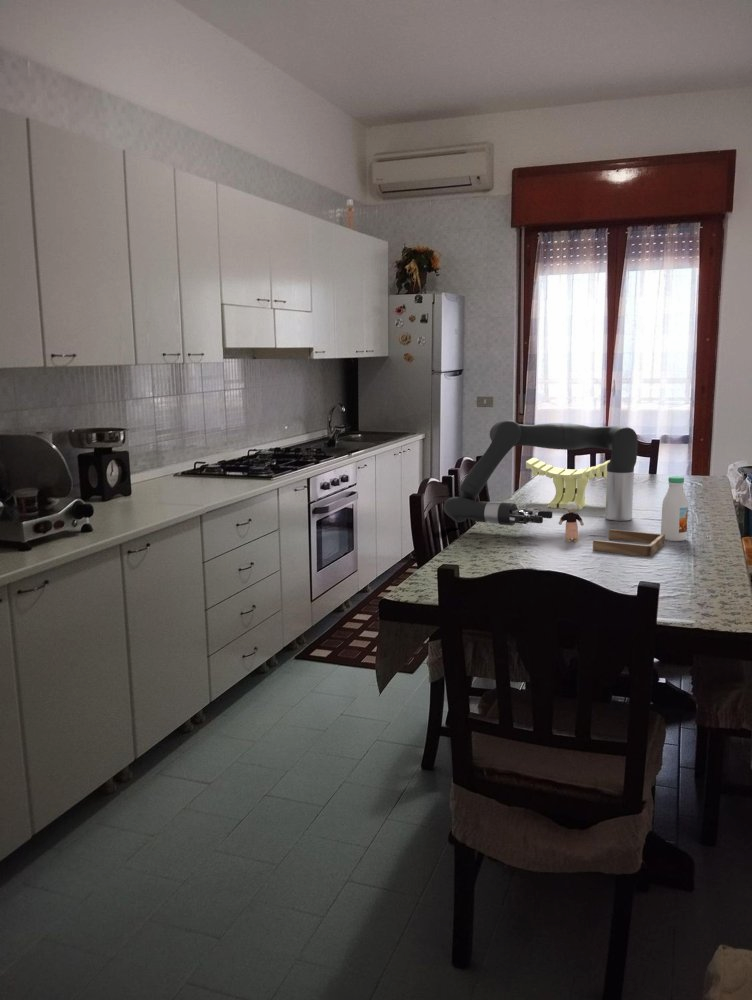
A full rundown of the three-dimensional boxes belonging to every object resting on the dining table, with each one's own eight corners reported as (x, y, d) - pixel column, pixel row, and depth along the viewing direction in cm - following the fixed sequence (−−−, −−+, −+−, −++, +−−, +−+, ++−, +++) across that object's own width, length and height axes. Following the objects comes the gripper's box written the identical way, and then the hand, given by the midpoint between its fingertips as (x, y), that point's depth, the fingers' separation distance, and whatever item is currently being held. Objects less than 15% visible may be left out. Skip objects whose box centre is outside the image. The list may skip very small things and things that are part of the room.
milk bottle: (670, 542, 249) (673, 479, 245) (655, 537, 256) (658, 476, 253) (691, 540, 251) (694, 478, 247) (676, 535, 258) (679, 474, 255)
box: (609, 538, 256) (610, 529, 256) (664, 543, 247) (664, 534, 247) (592, 550, 241) (593, 540, 241) (650, 556, 232) (650, 546, 232)
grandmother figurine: (580, 539, 256) (581, 500, 254) (584, 541, 252) (585, 502, 250) (557, 539, 256) (557, 501, 254) (560, 542, 252) (560, 503, 250)
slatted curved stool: (609, 503, 315) (610, 458, 312) (603, 510, 301) (605, 464, 298) (534, 499, 327) (535, 456, 324) (525, 506, 313) (525, 461, 310)
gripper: (492, 506, 259) (539, 509, 251) (509, 498, 271) (555, 502, 262) (492, 528, 261) (539, 533, 252) (509, 520, 272) (554, 524, 264)
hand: (547, 517), depth 257 cm, fingers open, 8 cm apart
